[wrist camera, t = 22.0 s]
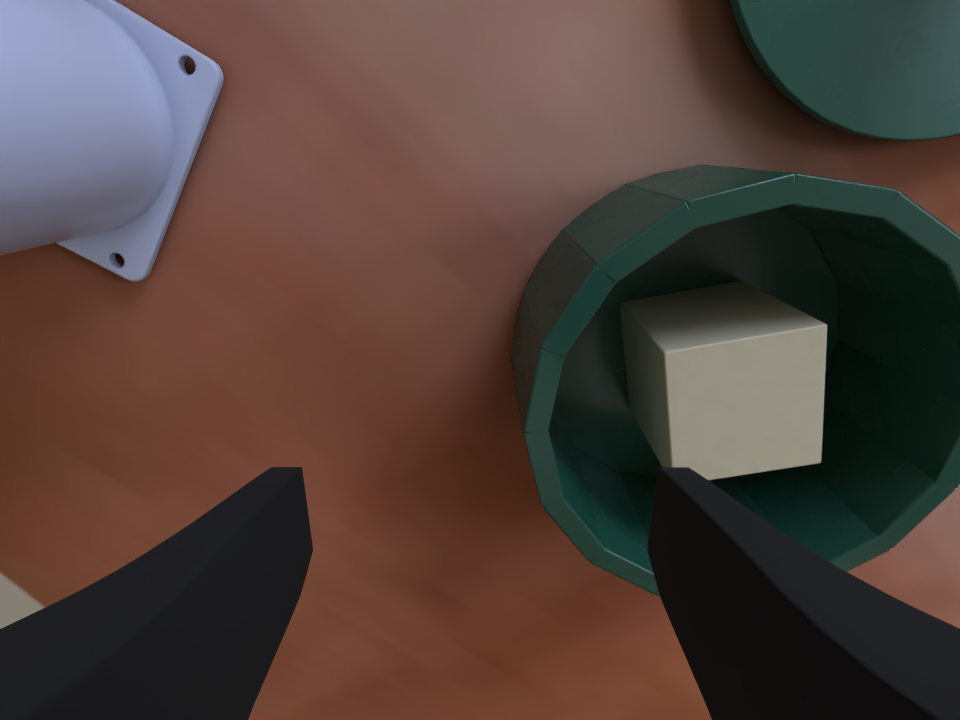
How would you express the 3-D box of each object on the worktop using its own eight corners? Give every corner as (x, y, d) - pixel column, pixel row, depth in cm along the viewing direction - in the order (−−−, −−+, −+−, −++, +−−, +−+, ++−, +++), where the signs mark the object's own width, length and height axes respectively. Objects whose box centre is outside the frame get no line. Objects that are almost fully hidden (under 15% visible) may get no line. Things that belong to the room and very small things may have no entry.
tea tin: (452, 396, 22) (443, 491, 16) (647, 90, 18) (731, 63, 12) (704, 530, 24) (778, 657, 18) (924, 286, 20) (1110, 346, 14)
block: (629, 409, 22) (673, 486, 17) (618, 301, 20) (663, 352, 15) (744, 391, 21) (822, 463, 16) (742, 280, 20) (828, 324, 15)
